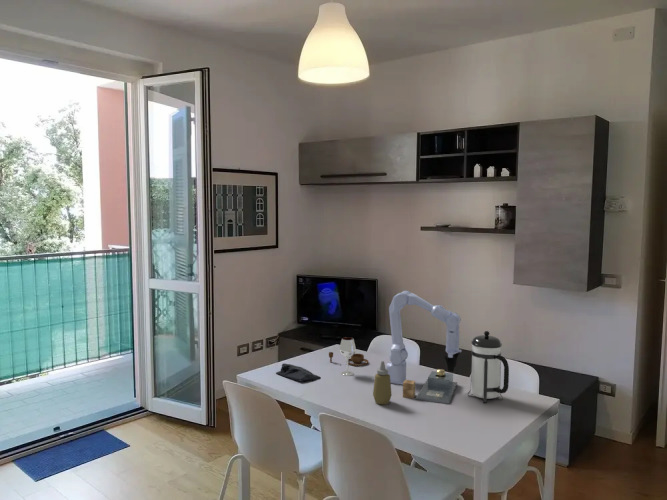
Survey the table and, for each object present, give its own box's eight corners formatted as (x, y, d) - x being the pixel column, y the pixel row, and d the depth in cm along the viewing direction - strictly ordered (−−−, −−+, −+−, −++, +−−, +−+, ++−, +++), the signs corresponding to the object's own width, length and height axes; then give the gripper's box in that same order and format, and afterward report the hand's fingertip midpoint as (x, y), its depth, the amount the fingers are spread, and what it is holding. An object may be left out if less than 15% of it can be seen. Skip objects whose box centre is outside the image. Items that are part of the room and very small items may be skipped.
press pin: (436, 377, 235) (436, 370, 234) (437, 375, 238) (437, 368, 238) (443, 378, 233) (444, 371, 233) (445, 376, 237) (445, 369, 236)
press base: (416, 399, 219) (416, 387, 218) (427, 381, 243) (427, 370, 243) (448, 404, 214) (449, 392, 213) (457, 384, 238) (457, 374, 238)
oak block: (402, 397, 222) (403, 382, 221) (405, 393, 226) (405, 379, 226) (412, 398, 220) (413, 384, 220) (415, 395, 224) (415, 380, 224)
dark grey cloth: (297, 385, 237) (297, 375, 237) (273, 373, 255) (273, 364, 254) (323, 379, 247) (323, 369, 246) (298, 368, 264) (298, 359, 264)
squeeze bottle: (379, 407, 210) (379, 365, 208) (369, 400, 217) (369, 360, 216) (395, 404, 214) (395, 362, 212) (384, 397, 221) (385, 357, 219)
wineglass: (358, 372, 255) (358, 338, 254) (350, 377, 248) (350, 341, 247) (344, 370, 259) (344, 336, 258) (336, 374, 253) (336, 339, 251)
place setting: (358, 370, 261) (358, 359, 261) (326, 363, 272) (326, 353, 272) (374, 362, 276) (374, 351, 276) (343, 356, 287) (343, 346, 287)
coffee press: (465, 402, 216) (467, 333, 214) (469, 390, 231) (471, 326, 229) (507, 407, 210) (509, 337, 208) (509, 395, 225) (511, 329, 223)
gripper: (459, 344, 221) (458, 374, 222) (463, 337, 235) (462, 365, 236) (443, 343, 224) (442, 372, 225) (448, 335, 237) (447, 363, 238)
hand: (451, 368), depth 230 cm, fingers open, 7 cm apart
